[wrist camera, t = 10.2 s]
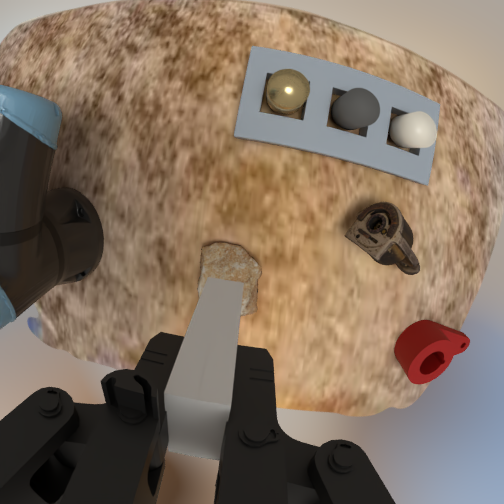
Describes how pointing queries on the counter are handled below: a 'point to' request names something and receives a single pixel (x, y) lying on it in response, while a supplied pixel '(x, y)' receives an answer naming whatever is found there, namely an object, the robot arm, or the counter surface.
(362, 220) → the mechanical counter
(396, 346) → the lever
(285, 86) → the gold cylinder
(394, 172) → the grey slotted holder
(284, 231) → the counter surface
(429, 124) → the white rounded cylinder
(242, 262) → the stone
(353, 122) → the dark gray cylinder
